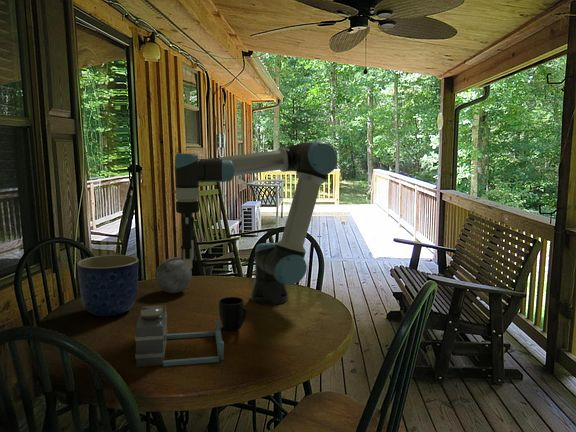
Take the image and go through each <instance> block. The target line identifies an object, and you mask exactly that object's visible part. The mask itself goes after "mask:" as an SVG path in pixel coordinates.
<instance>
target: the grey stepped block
mask: <svg viewBox="0 0 576 432" xmlns="http://www.w3.org/2000/svg"><path fill="white" fill-rule="evenodd" d="M167 319H168V312H167V305H166V304H161V305H158V304H157V305H144V306H143V305H142V307H141V309H140V313H139V317H138V319H137V322H136V325H135V330H134V331H135V335H134V341H135V355H134V357H135V358H134V359H135V360H136V362H135V363H136V368H143V367H154V366H163V360H165V355H166V347H167V341H168V339H167V334H168V326H167Z"/></svg>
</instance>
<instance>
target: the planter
mask: <svg viewBox="0 0 576 432" xmlns="http://www.w3.org/2000/svg"><path fill="white" fill-rule="evenodd" d="M139 261H140V260H139V258H138V257H136V256H133V255H128V254H127V255H125V254H107V255H97V256H96V255H95V256H91V257H87V258H84V259H81V260H79V261H78V262H77V263H76V269H77V277H78V282H79V283H78V285H79V290H80V291H79V292H80V293H79V294H80V299H81V303H82V306H83V307H84V309H85V310H86V312H88V313H89V314H91V315H94V316H97V317H114V316H118V315H122V314H123V313H126V312H127V311H129V310H130V309H131V308H132V307H133V306H134V305H135V302H136V299H137V295H138V285H139V282H138V281H139V265H140V264H139Z"/></svg>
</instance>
